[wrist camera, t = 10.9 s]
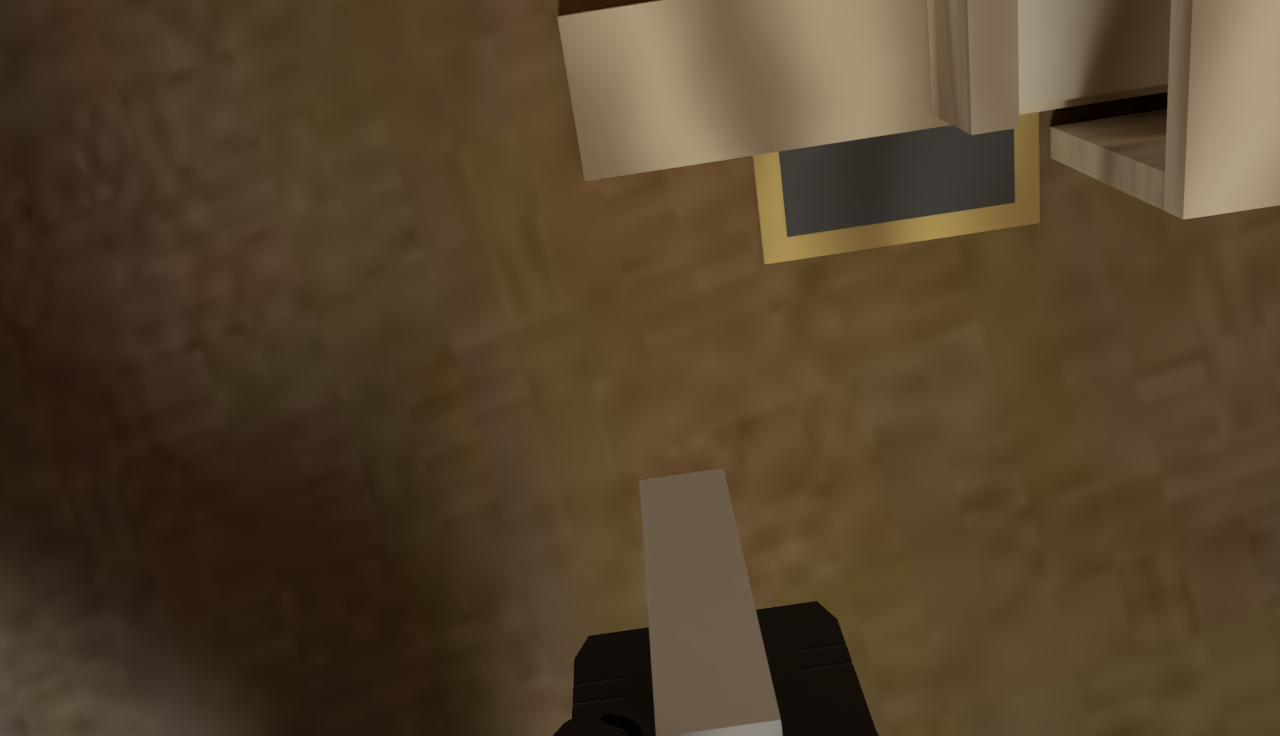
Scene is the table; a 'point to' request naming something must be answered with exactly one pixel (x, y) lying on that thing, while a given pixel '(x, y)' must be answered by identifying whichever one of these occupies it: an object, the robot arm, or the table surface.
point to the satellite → (906, 117)
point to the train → (1039, 54)
